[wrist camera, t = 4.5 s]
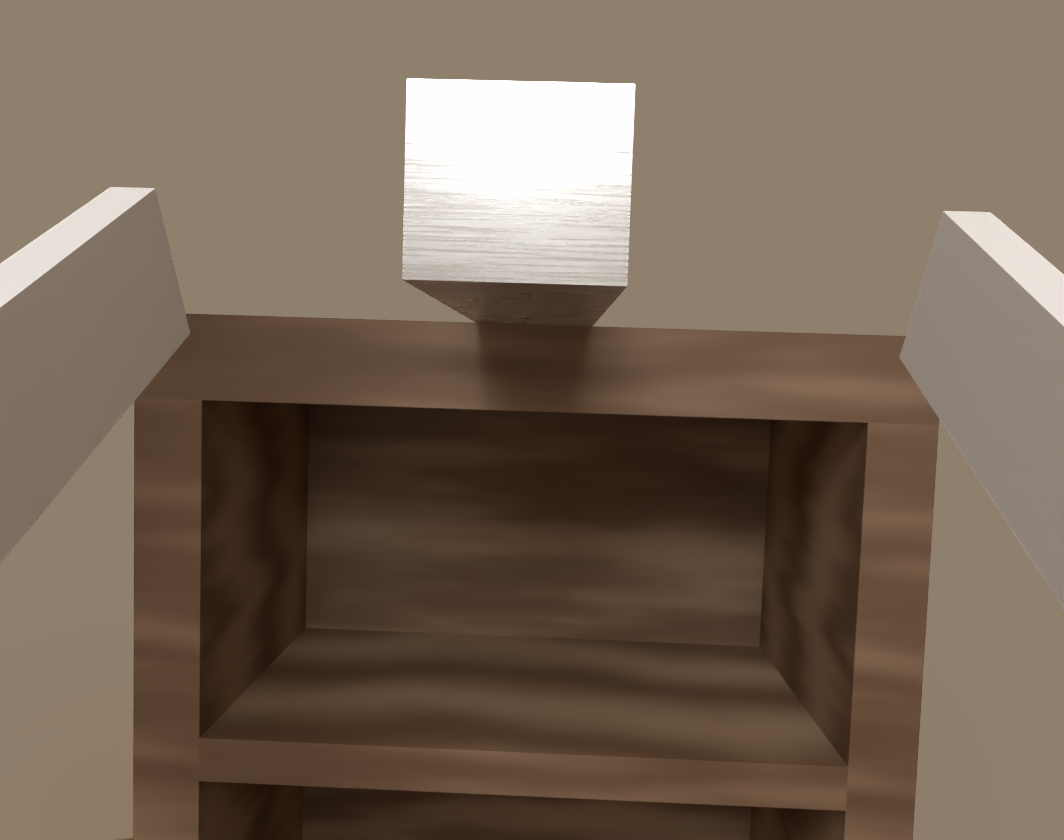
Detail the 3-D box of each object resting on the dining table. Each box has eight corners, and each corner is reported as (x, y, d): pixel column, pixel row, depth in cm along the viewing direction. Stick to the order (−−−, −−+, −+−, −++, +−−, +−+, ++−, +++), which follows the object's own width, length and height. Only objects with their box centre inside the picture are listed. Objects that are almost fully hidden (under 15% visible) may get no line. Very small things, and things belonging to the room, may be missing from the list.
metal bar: (712, 288, 15) (740, -339, 14) (318, 276, 15) (328, -343, 14) (606, 342, 45) (614, 143, 44) (476, 338, 45) (482, 139, 44)
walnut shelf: (891, 1165, 30) (944, 337, 28) (132, 1121, 31) (134, 312, 29) (785, 913, 44) (816, 347, 42) (263, 887, 45) (271, 330, 43)
